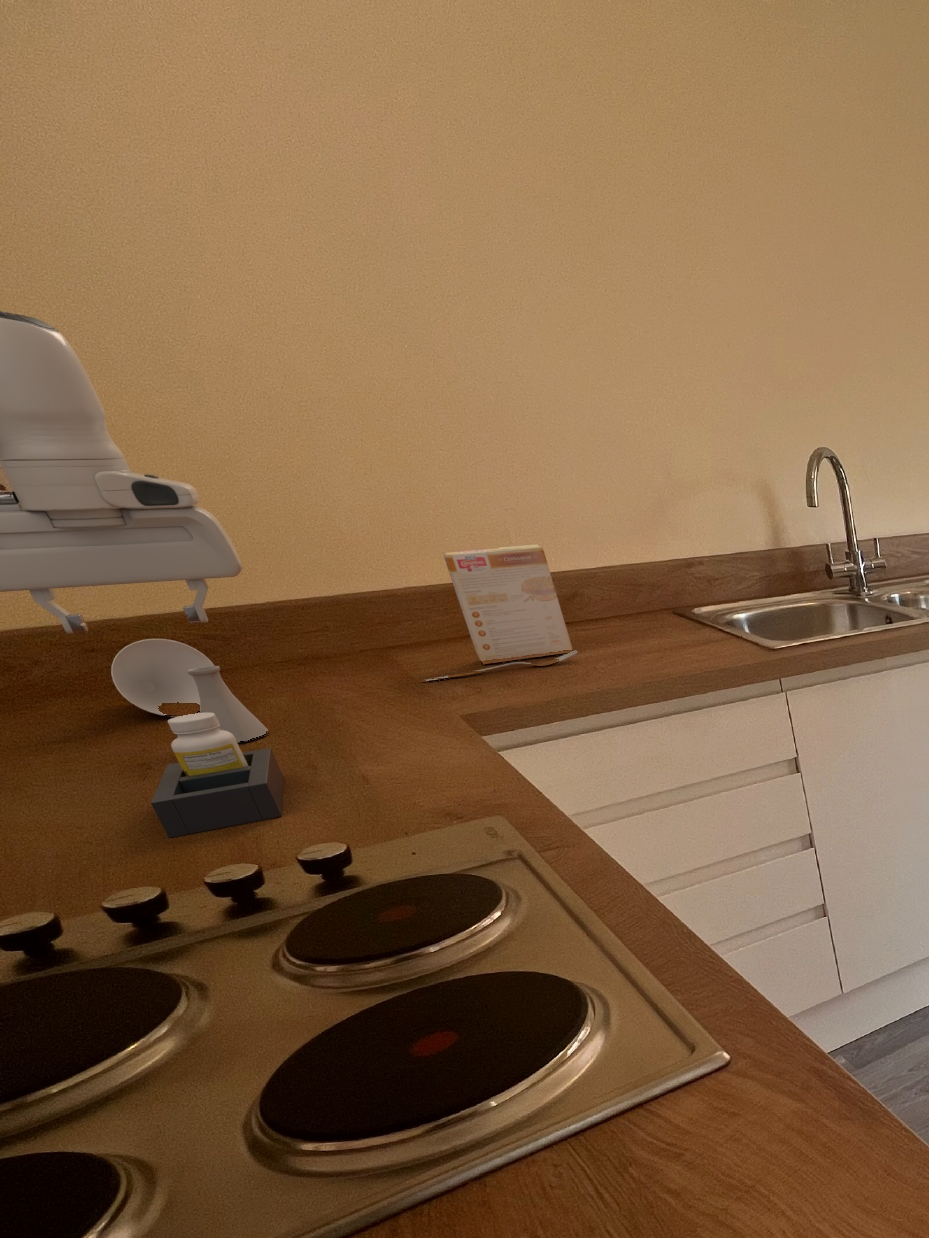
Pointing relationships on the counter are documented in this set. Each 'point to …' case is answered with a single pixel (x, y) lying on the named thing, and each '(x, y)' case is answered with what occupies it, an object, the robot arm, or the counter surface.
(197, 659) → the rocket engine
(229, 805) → the holder
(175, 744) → the supplement bottle
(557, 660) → the fork
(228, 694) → the flask
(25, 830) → the counter surface
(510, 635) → the coffeecake box
